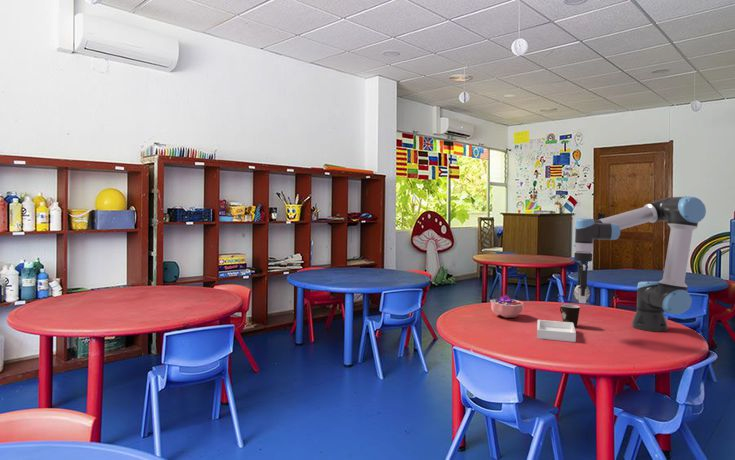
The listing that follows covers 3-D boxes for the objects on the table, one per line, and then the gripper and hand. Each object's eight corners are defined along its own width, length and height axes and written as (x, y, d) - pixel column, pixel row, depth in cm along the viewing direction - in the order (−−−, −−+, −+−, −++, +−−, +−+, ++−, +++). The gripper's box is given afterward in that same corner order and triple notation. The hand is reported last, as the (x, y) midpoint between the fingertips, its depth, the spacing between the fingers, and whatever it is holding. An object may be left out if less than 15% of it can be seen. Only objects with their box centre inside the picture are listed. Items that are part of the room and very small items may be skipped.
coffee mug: (581, 328, 238) (581, 308, 238) (562, 327, 240) (563, 307, 239) (576, 323, 249) (576, 303, 249) (558, 322, 251) (558, 302, 251)
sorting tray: (572, 330, 234) (573, 322, 233) (575, 342, 214) (575, 333, 214) (537, 327, 239) (537, 319, 239) (537, 338, 219) (537, 329, 219)
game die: (583, 309, 224) (596, 292, 224) (584, 305, 217) (597, 288, 217) (566, 297, 228) (579, 281, 229) (566, 293, 221) (579, 276, 221)
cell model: (492, 320, 254) (493, 299, 253) (488, 312, 274) (488, 292, 273) (526, 321, 252) (526, 300, 251) (519, 313, 272) (519, 293, 271)
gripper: (572, 250, 234) (570, 296, 235) (576, 253, 213) (574, 304, 214) (589, 250, 231) (587, 297, 232) (595, 254, 210) (592, 306, 211)
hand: (581, 301), depth 223 cm, fingers closed on game die, 10 cm apart
